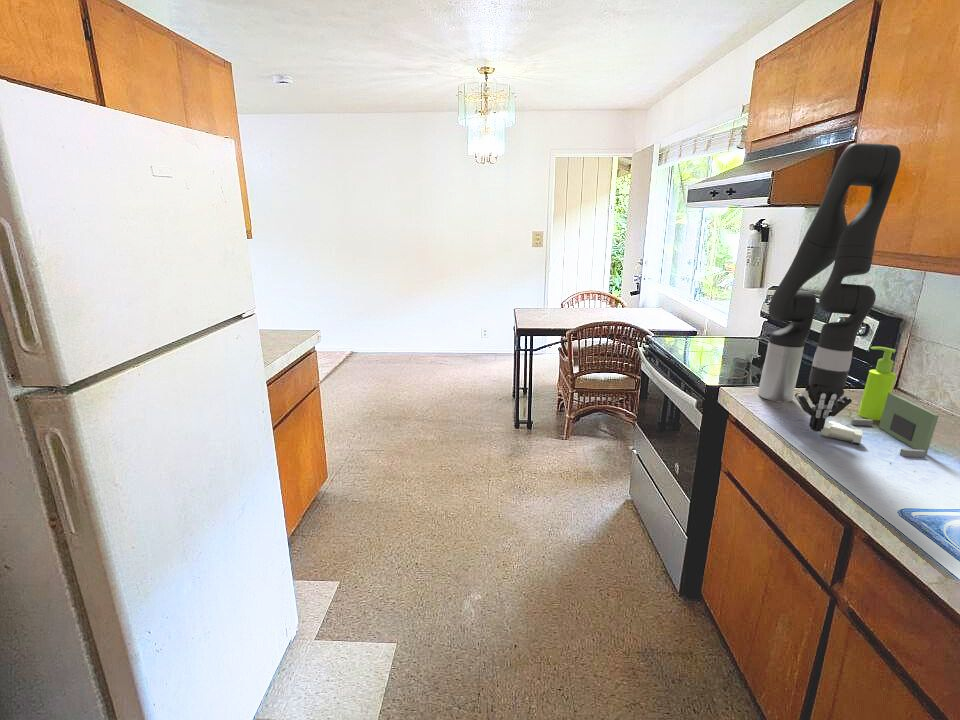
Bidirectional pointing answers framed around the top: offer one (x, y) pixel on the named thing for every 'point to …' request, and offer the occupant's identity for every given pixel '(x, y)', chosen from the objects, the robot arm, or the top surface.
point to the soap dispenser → (878, 386)
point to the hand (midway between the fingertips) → (815, 430)
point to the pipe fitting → (841, 432)
